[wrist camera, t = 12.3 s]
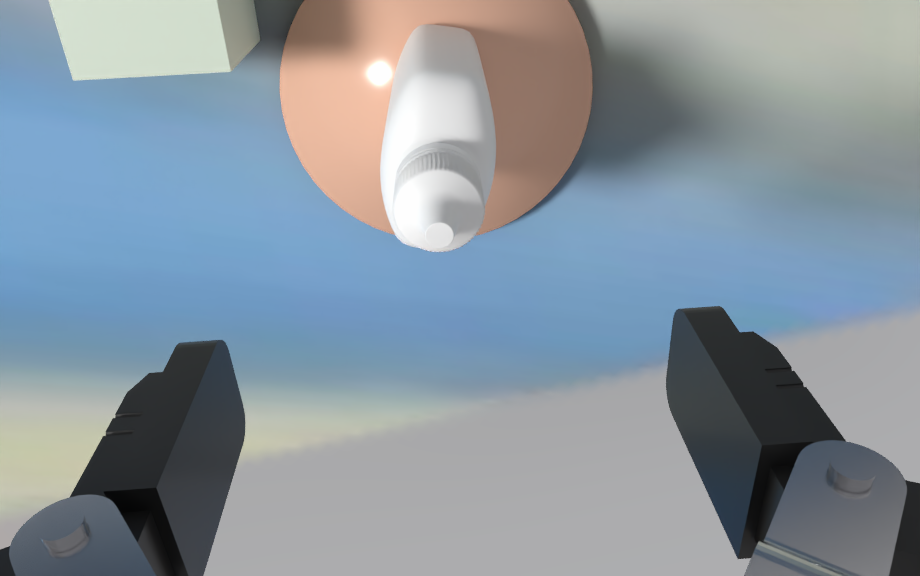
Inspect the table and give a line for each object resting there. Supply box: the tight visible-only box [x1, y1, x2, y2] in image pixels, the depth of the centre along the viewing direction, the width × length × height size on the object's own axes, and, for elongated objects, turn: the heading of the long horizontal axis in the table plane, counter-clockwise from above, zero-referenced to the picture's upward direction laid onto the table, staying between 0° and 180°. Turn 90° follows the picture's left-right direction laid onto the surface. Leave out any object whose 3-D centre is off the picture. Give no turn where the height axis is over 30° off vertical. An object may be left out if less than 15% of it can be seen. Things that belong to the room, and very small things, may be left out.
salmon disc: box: [280, 0, 593, 236], centre depth 28 cm, size 12×12×1 cm
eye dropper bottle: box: [380, 24, 496, 252], centre depth 23 cm, size 4×6×12 cm
